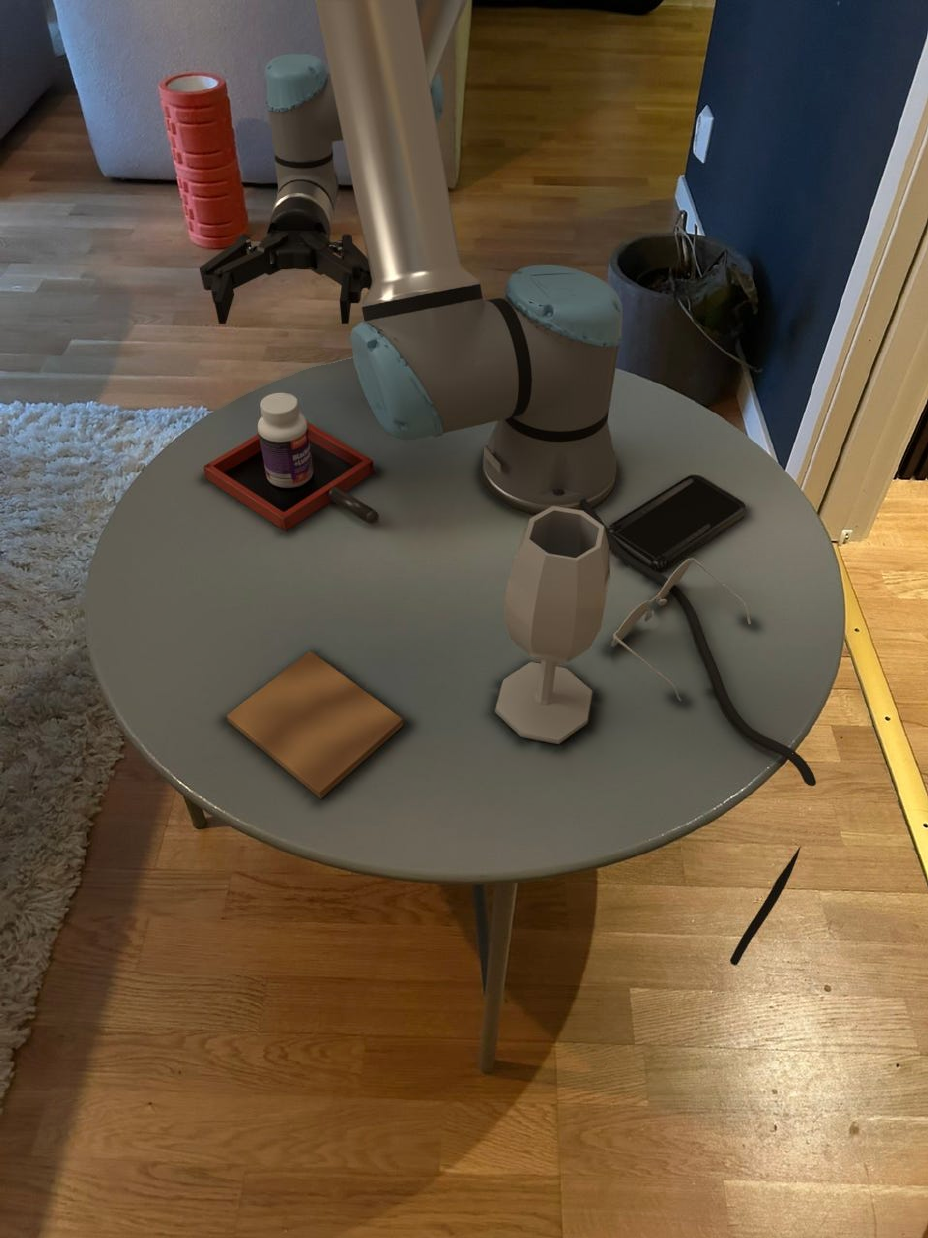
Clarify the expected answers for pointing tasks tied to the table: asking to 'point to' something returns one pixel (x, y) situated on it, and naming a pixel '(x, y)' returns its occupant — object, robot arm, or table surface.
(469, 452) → the table surface
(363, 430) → the table surface
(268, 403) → the pill bottle
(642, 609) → the sunglasses
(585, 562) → the wineglass
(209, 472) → the pan
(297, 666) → the wooden board
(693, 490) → the phone
